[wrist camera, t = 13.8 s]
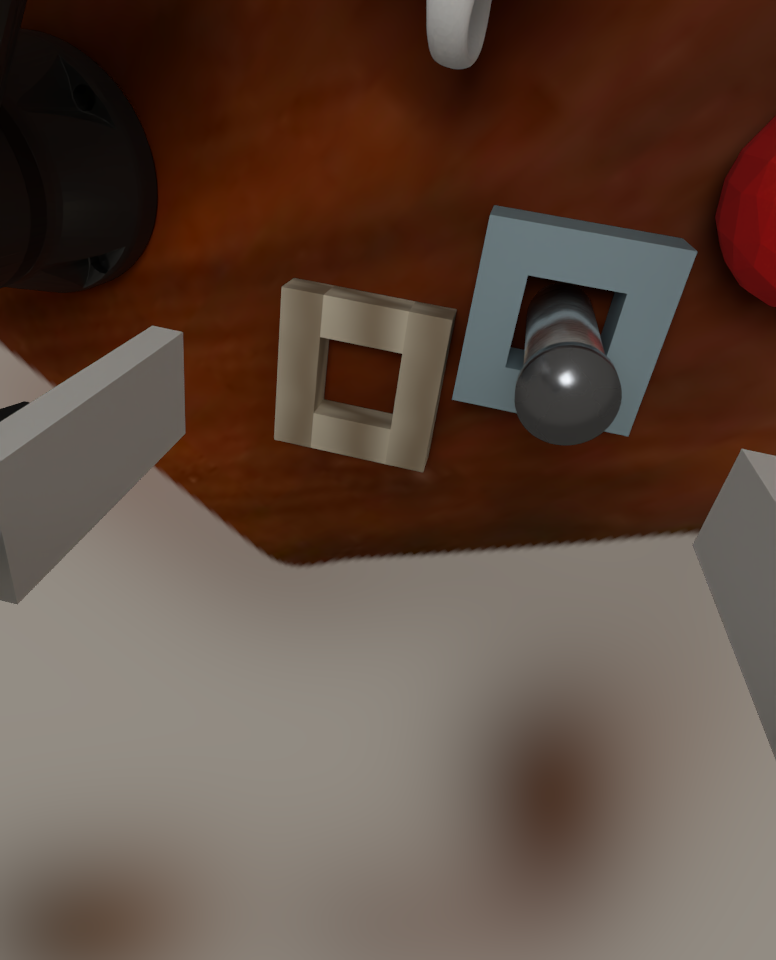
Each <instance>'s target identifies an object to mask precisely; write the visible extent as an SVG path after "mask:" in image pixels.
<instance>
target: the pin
mask: <svg viewBox="0 0 776 960" xmlns="http://www.w3.org/2000/svg"><path fill="white" fill-rule="evenodd" d="M621 399H622V390H621V384H620V380H619V377H618V374H617V371H616V369H615V367H614V365H613V363H612V362H611V360H610V359H609V358H608V357H607V356H606V355H605V352H604V349H603V345H602V341H601V337H600V334H599V330H598V326H597V322H596V319H595V315H594V311H593V307H592V304H591V301H590V299H589V297H588V295H587V294H586V293H585V292H584V290H582V289H581V288H580V287H578V286H576V285H574V284H571V283H565V282H559V283H553V284H550V285H548V286H546V287H544V288H542V289H541V290H540V291H538V292H537V293H536V294H535V296H534V297H533V298H532V300H531V302H530V304H529V307H528V311H527V322H526V337H525V351H524V365H523V367H522V368H521V370H520V373H519V375H518V378H517V381H516V386H515V400H514V401H515V408H516V412H517V415H518V417H519V419H520V421H521V423H522V424H523V426H524V427H525V428H526V429H527V430H528V431H529V432H530V433H531V434H532V435H534V436H535V437H537V438H539V439H540V440H543V441H545V442H548V443H551V444H556V445H575V444H580V443H583V442H586V441H589V440H591V439H593V438H595V437H597V436H598V435H600V434H601V433H602V432H604V431H605V430H606V429H607V428H608V427H609V426H610V425H611V423H612V422H613V421H614V419H615V417H616V416H617V413H618V411H619V409H620V405H621Z"/></svg>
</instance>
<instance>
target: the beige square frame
mask: <svg viewBox="0 0 776 960" xmlns="http://www.w3.org/2000/svg"><path fill="white" fill-rule="evenodd" d="M456 311H457V309H452V308H446V307H441V306H436V305H431V304H426V303H421V302H416V301H410V300H405V299H400V298H395V297H390V296H385V295H380V294H375V293H369V292H364V291H359V290H354V289H349V288H344V287H339V286H333V285H328V284H323V283H318V282H313V281H308V280H303V279H297V278H294V279H292V280H291V281H289V282H288V283H286V284H285V285H283V286H282V290H281V311H280V331H279V351H278V371H277V391H276V411H275V431H274V440H279V441H283V442H288V443H292V444H297V445H301V446H306V447H310V448H315V449H319V450H324V451H328V452H333V453H337V454H342V455H346V456H351V457H355V458H360V459H364V460H369V461H373V462H378V463H382V464H387V465H391V466H396V467H400V468H405V469H410V470H414V471H419V472H423V471H424V468H425V465H426V462H427V459H428V455H429V450H430V445H431V440H432V435H433V429H434V424H435V419H436V414H437V409H438V404H439V399H440V393H441V388H442V383H443V378H444V373H445V368H446V363H447V358H448V352H449V347H450V342H451V337H452V332H453V327H454V322H455V316H456ZM329 339H332V340H337V341H342V342H347V343H352V344H357V345H362V346H367V347H372V348H377V349H381V350H386V351H391V352H396V353H401V354H402V359H401V366H400V372H399V379H398V385H397V392H396V398H395V404H394V411H393V414H390V413H386V412H381V411H376V410H372V409H367V408H362V407H358V406H353V405H348V404H343V403H339V402H334V401H329V400H325V399H324V391H325V380H326V369H327V359H328V348H329Z"/></svg>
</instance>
